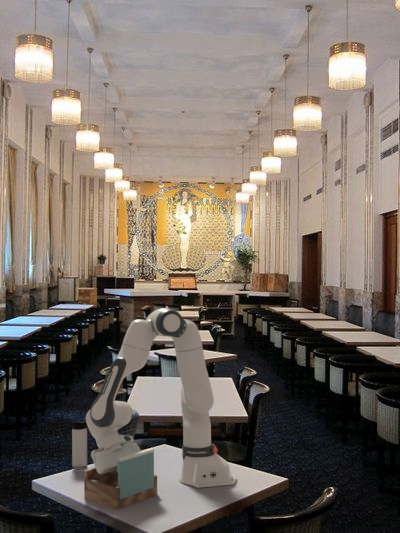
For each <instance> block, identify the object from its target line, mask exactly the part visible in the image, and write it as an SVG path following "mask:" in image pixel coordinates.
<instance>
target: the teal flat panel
mask: <svg viewBox="0 0 400 533" xmlns="http://www.w3.org/2000/svg"><path fill="white" fill-rule="evenodd" d="M154 453H155V449H154V448H148V449H145V450H141V452H137V453H134V454H130V455H127V456H123V457H120V458H118V488H119V499H123V498H125V497H128V496H131V495H134V494H137V493H140V492H143V491H145V490H148V489H151V488H154V475H155V454H154Z"/></svg>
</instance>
